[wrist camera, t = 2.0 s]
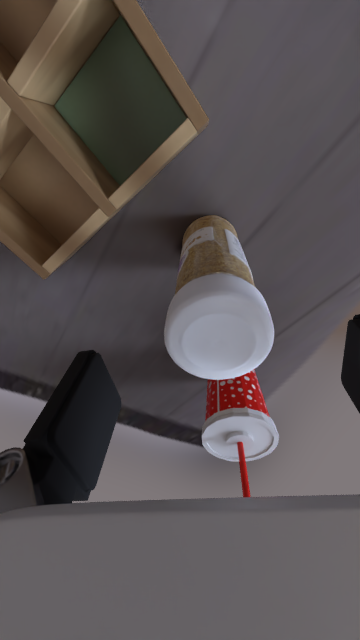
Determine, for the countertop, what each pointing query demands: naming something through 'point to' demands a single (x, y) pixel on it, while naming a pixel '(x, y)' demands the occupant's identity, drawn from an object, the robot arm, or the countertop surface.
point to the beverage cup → (238, 422)
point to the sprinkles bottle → (216, 306)
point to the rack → (82, 120)
